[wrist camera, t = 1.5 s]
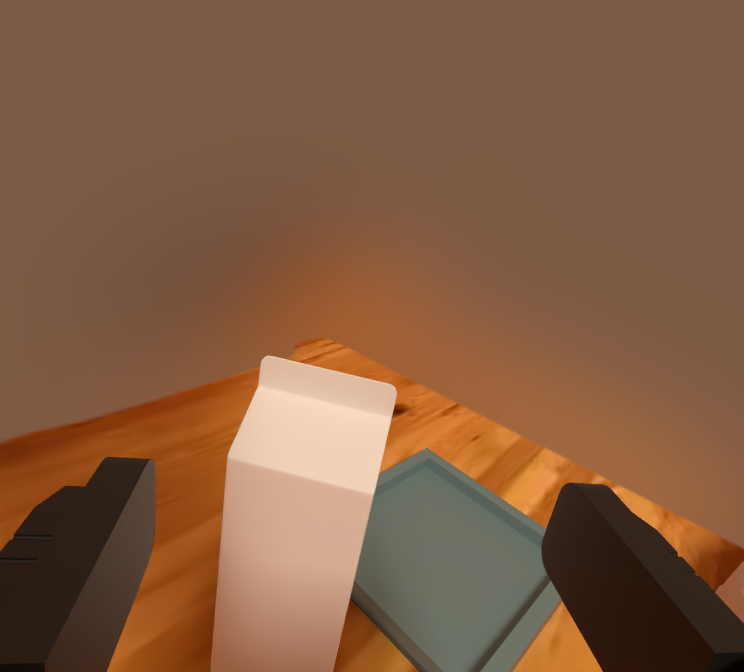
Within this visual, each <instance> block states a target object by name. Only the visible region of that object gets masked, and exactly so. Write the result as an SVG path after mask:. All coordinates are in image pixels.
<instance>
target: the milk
mask: <svg viewBox="0 0 744 672" xmlns="http://www.w3.org/2000/svg"><path fill="white" fill-rule="evenodd" d="M396 396H397V391H396V388H395V387H394V386H393V385H391V384H388V383H384V382H379V381H375V380H371V379H367V378H362V377H358V376H354V375H350V374H346V373H341V372H337V371H333V370H329V369H325V368H320V367H316V366H312V365H308V364H303V363H299V362H295V361H291V360H287V359H282V358H278V357H274V356H266V357H264V358H263V359H262V361H261V365H260V375H259V384H258V388H257V390H256V392H255V394H254V397H253V399H252V401H251V403H250V406H249V408H248V410H247V412H246V415H245V417H244V419H243V421H242V423H241V426H240V428H239V430H238V432H237V435H236V437H235V439H234V441H233V444H232V446H231V448H230V450H229V453H228V456H227V466H226V479H225V492H224V504H223V517H222V529H221V542H220V555H219V567H218V580H217V592H216V605H215V618H214V630H213V643H212V655H211V668H210V672H333V669H334V665H335V660H336V656H337V652H338V647H339V643H340V639H341V635H342V630H343V626H344V622H345V617H346V613H347V609H348V605H349V600H350V596H351V592H352V587H353V583H354V579H355V575H356V570H357V566H358V562H359V557H360V553H361V549H362V545H363V540H364V536H365V532H366V527H367V523H368V519H369V514H370V510H371V506H372V502H373V497H374V493H375V489H376V484H377V480H378V475H379V471H380V467H381V462H382V458H383V453H384V449H385V444H386V440H387V436H388V431H389V427H390V422H391V418H392V414H393V409H394V405H395V401H396Z"/></svg>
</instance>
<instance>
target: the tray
mask: <svg viewBox="0 0 744 672" xmlns="http://www.w3.org/2000/svg"><path fill="white" fill-rule="evenodd" d="M545 532H546V529H545V528H544V527H543V526H541V525H540V524H538V523H537V522H535V521H534V520H532V519H531V518H529V517H528V516H526V515H525V514H523V513H522V512H520V511H519V510H518V509H516V508H515V507H513V506H512V505H510V504H509V503H507V502H506V501H504V500H503V499H501V498H500V497H498V496H497V495H495V494H494V493H492V492H491V491H490V490H488V489H487V488H485V487H484V486H482V485H481V484H479V483H478V482H476V481H475V480H473V479H472V478H470V477H469V476H467V475H466V474H465V473H463V472H462V471H460V470H459V469H457V468H456V467H454V466H453V465H451V464H450V463H448V462H447V461H445V460H444V459H442V458H441V457H439V456H438V455H437V454H435V453H434V452H432V451H431V450H429V449H428V448H426V449H424V450H422V451H421V452H419V453H417V454H415V455H413V456H412V457H410V458H408V459H406V460H404V461H402V462H401V463H399V464H397V465H395V466H393V467H391V468H390V469H388V470H386V471H384V472H382V473H380V474H379V475H378V480H377V484H376V489H375V493H374V497H373V502H372V506H371V510H370V514H369V519H368V523H367V527H366V532H365V536H364V540H363V545H362V549H361V553H360V557H359V562H358V566H357V570H356V575H355V579H354V583H353V587H352V592H351V596H350V598H351V599H352V600H353V602H354V603H355V604H356V605H357V606H358V607H359V608H360V609H361V610H362V611H363V612H364V613H365V614H366V615H367V616H368V617H369V618H370V620H371V621H372V622H373V623H374V624H375V625H376V626H377V627H378V628H379V629H380V630H381V631H382V632H383V633H384V634H385V635H386V636H387V638H388V639H389V640H390V641H391V642H392V643H393V644H394V645H395V646H396V647H397V648H398V649H399V650H400V651H401V652H402V653H403V654H404V656H405V657H406V658H407V659H408V660H409V661H410V662H411V663H412V664H413V665H414V666H415V667H416V668H417V669H418V670H419V671H420V672H513V670H514V669H515V667H516V666H517V664H518V663H519V662H520V660H521V659H522V657H523V656H524V654H525V653H526V652H527V650H528V649H529V647H530V646H531V644H532V643H533V642H534V640H535V639H536V637H537V636H538V635H539V633H540V632H541V630H542V629H543V627H544V626H545V625H546V623H547V622H548V620H549V619H550V617H551V616H552V615H553V613H554V612H555V610H556V609H557V607H558V606H559V605H560V603H561V602H562V599H561V597H560V596H559V594H558V592H557V590H556V589H555V587H554V585H553V583H552V582H551V580H550V578H549V576H548V575H547V573H546V571H545V568H544V565H543V561H542V554H541V546H542V540H543V537H544V534H545Z"/></svg>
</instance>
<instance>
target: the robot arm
mask: <svg viewBox="0 0 744 672" xmlns="http://www.w3.org/2000/svg"><path fill="white" fill-rule="evenodd" d="M154 535H155V463H154V460H153V459H138V458H120V457H106V458H105V459H104V460H103V461H102V462H101V464H100V465H99V467H98V468H97V470H96V471H95V473H94V474H93V476H92V477H91V479H90V480H89V482H88V483H87V485H86V486H85V487H80V486H65V487H63V488H62V489H60V490H59V491H57V492H56V493H55V494H53V495H52V496H50V497H49V498H47V499H46V500H45V501H43V502H42V503H40V504H39V505H37V506H36V507H35V508H34V509H33V510H32V512H31V513H30V514H29V515H28V517H27V518H26V519H25V521H24V522H23V523H22V525H21V526H20V527H19V528H18V530H17V531H16V532H15V534H14V538H13V540H9V541H8V543H7V544H6V545H5V547H4V548H3V549H2V551H1V552H0V672H107V669H108V667H109V664H110V662H111V659H112V656H113V654H114V651H115V649H116V646H117V643H118V641H119V638H120V636H121V633H122V630H123V628H124V625H125V623H126V620H127V617H128V615H129V612H130V610H131V607H132V604H133V602H134V599H135V597H136V594H137V592H138V589H139V586H140V584H141V581H142V579H143V576H144V573H145V571H146V568H147V565H148V563H149V559H150V556H151V552H152V547H153V542H154ZM541 554H542V561H543V565H544V568H545V571H546V573H547V575H548V576H549V578H550V580H551V582H552V583H553V585H554V587H555V589H556V590H557V592H558V594H559V596H560V597H561V599H562V601H563V603H564V604H565V606H566V608H567V610H568V611H569V613H570V615H571V617H572V618H573V620H574V622H575V623H576V625H577V627H578V629H579V630H580V632H581V634H582V636H583V637H584V639H585V641H586V643H587V644H588V646H589V648H590V650H591V651H592V653H593V655H594V657H595V658H596V660H597V662H598V664H599V665H600V667H601V669H602V671H603V672H744V623H743V622H742V621H741V620H740V619H739V618H738V617H737V615H736V614H735V613H734V612H733V611H732V610H731V609H730V608H729V607H728V606H727V605H726V604H725V603H724V602H723V601H722V599H721V598H720V597H719V596H718V595H717V594H716V593H715V592H714V591H713V590H712V589H711V588H710V587H709V586H708V584H707V583H706V582H705V581H704V580H703V579H702V578H701V577H700V576H696V575H695V571H694V569H693V568H692V567H691V566H690V565H689V564H688V563H687V562H686V561H685V560H684V559H683V558H682V557H678V552H677V551H676V550H675V549H674V548H673V547H672V546H671V545H670V544H669V543H668V542H667V541H666V539H665V538H664V537H663V536H662V535H661V534H660V533H659V532H658V531H657V530H656V529H654V528H653V527H652V526H650V525H649V524H648V523H646V522H645V521H643V520H642V519H641V518H639V517H638V516H637V515H635V514H634V513H632V512H631V511H630V510H629V508H628V507H627V506H626V505H625V504H624V503H623V502H622V501H621V500H620V499H619V497H618V496H617V495H616V494H615V493H614V492H613V491H612V490H611V489H610V488H609V487H607V486H606V485H602V484H584V483H567V484H565V485H564V486H563V487H562V489H561V491H560V493H559V496H558V499H557V501H556V504H555V507H554V510H553V512H552V515H551V518H550V521H549V523H548V526H547V529H546V532H545V534H544V537H543V540H542V546H541Z"/></svg>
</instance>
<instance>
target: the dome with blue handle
mask: <svg viewBox="0 0 744 672" xmlns="http://www.w3.org/2000/svg"><path fill="white" fill-rule="evenodd" d="M715 593H716V594H717V595H718V596H719V597H720V598H721V599H722V601H723V602H724V603H725V604H726V605H727V606H728V607H729V608H730V609H731V610H732V611H733V612H734V613H735V614H736V615H737V617H738V618H739V619H740V620H741V621H742V622H743V623H744V561H743V562H742V563H741V564H740V565H739V566H738V568H737V569H736V570H735V571H734V572H733V573H732V574H731V576H730V577H729V578H728V579H727V580H726V581H725V582H724V584H723V585H720V586H719V587H718V589H717V590H716V592H715Z"/></svg>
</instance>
